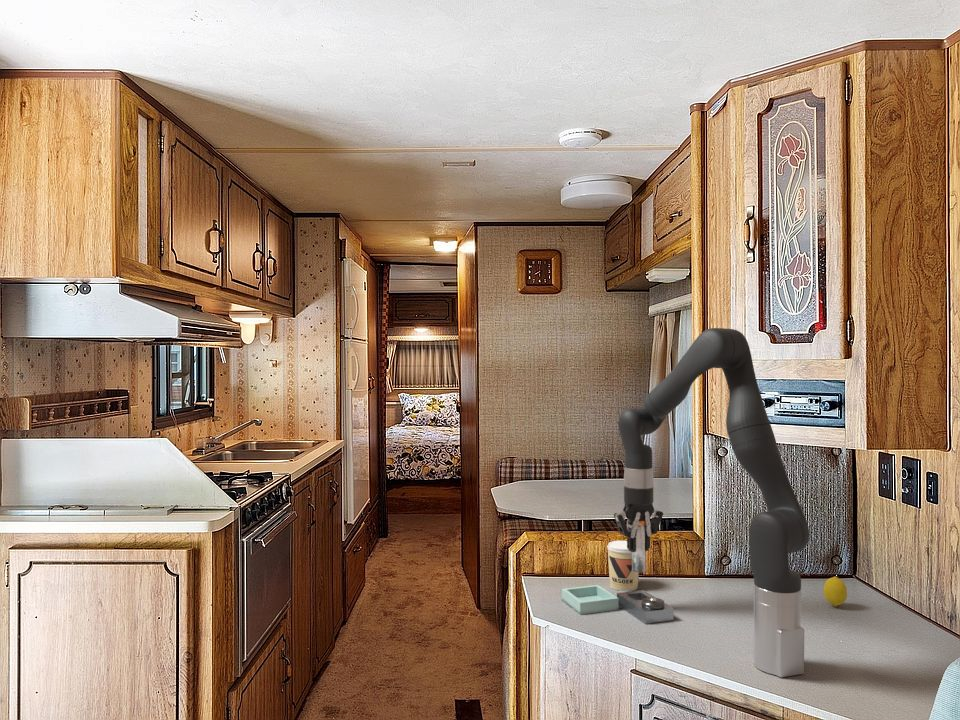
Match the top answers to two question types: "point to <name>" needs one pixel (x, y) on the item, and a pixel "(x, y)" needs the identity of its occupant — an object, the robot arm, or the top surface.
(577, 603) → the tray
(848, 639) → the top surface
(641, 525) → the pin
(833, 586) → the lemon
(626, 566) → the coffee cup
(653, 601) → the block
